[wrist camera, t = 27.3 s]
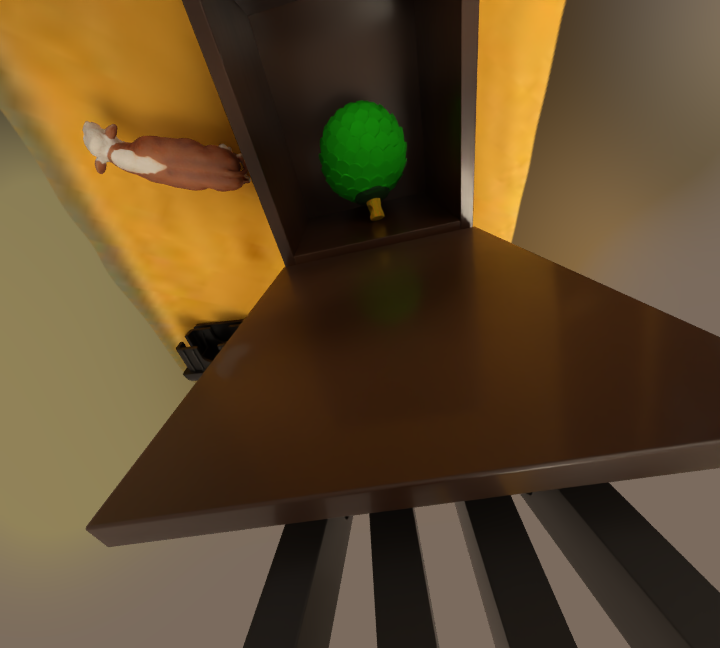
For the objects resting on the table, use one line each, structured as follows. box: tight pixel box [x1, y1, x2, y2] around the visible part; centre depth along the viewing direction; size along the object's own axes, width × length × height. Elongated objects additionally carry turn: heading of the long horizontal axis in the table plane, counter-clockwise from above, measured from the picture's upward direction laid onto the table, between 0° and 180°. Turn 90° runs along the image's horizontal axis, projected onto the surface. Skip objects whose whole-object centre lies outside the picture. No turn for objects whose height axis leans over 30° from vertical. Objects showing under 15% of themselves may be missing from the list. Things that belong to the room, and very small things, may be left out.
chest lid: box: [86, 227, 720, 547], centre depth 14 cm, size 20×16×1 cm
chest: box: [182, 0, 479, 267], centre depth 23 cm, size 19×16×13 cm
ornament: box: [319, 100, 407, 221], centre depth 26 cm, size 8×8×10 cm
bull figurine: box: [83, 121, 251, 191], centre depth 27 cm, size 4×13×8 cm, turn 77°
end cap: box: [176, 320, 244, 381], centre depth 42 cm, size 10×7×7 cm
